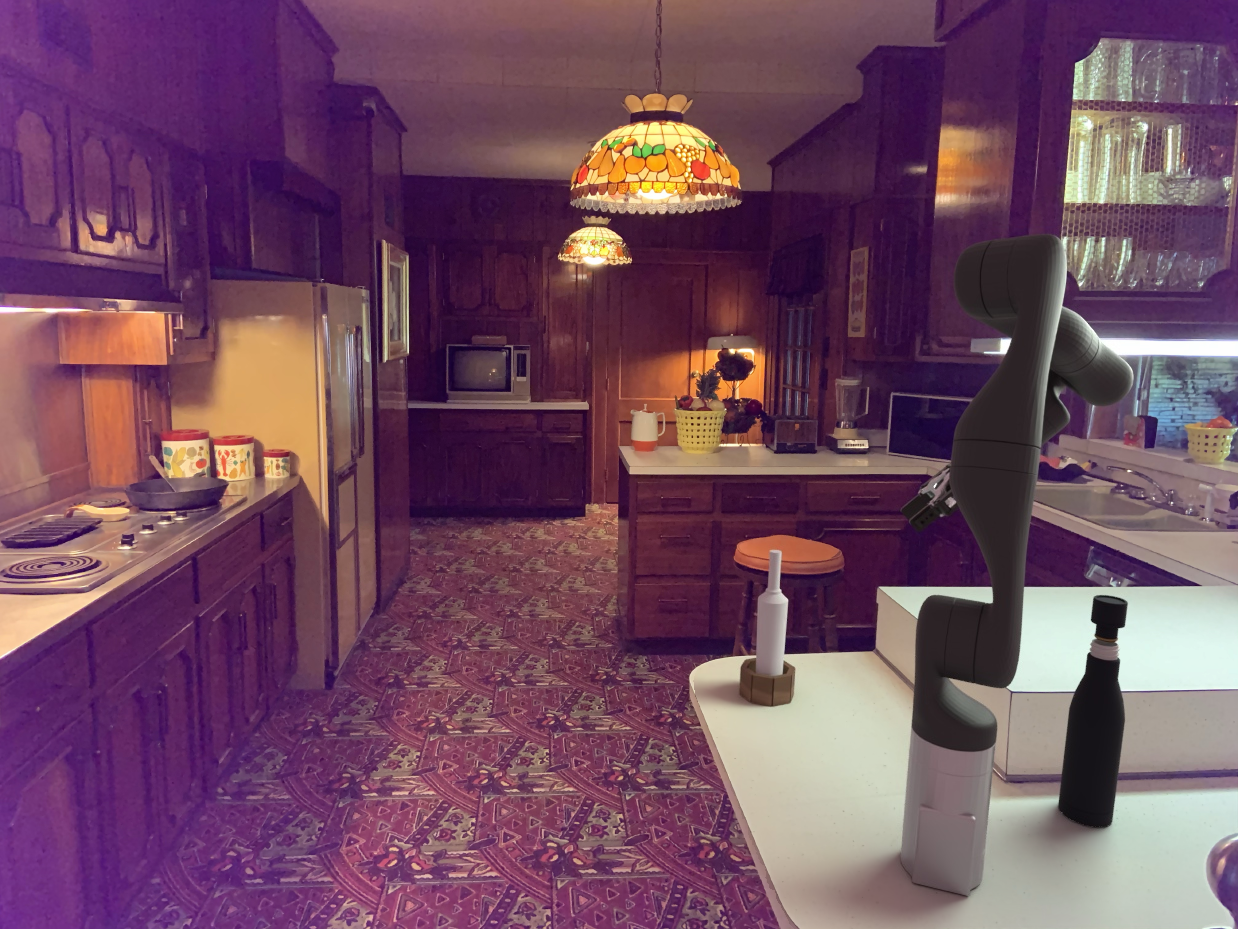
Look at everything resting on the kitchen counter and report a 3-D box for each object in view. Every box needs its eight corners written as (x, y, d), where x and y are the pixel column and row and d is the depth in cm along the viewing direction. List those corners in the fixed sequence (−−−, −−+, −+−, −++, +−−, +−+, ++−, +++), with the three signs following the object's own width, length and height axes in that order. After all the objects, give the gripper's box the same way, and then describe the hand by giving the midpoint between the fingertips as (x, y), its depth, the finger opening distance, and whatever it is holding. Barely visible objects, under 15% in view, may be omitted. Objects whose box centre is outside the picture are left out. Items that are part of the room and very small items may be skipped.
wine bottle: (1047, 806, 114) (1071, 594, 109) (1079, 796, 117) (1103, 589, 112) (1090, 832, 108) (1117, 609, 103) (1123, 821, 111) (1151, 603, 106)
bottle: (781, 684, 150) (789, 548, 146) (784, 696, 144) (792, 556, 140) (752, 682, 150) (759, 546, 146) (754, 694, 145) (761, 554, 141)
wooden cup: (787, 709, 142) (789, 681, 141) (735, 700, 145) (736, 672, 144) (796, 688, 150) (798, 662, 149) (747, 680, 153) (748, 654, 152)
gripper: (968, 425, 129) (885, 494, 133) (991, 435, 115) (898, 511, 119) (1001, 461, 129) (917, 529, 133) (1029, 475, 115) (934, 550, 119)
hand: (908, 521), depth 126 cm, fingers open, 8 cm apart
